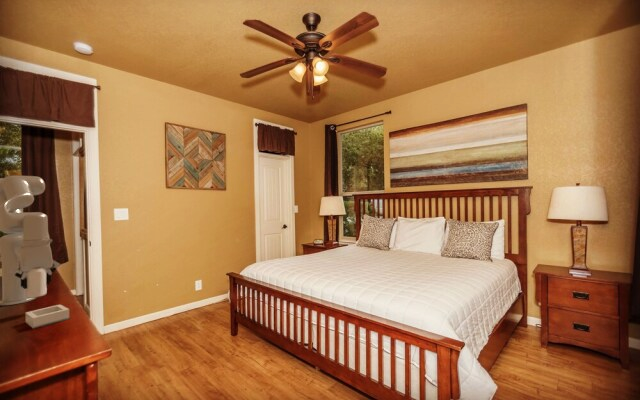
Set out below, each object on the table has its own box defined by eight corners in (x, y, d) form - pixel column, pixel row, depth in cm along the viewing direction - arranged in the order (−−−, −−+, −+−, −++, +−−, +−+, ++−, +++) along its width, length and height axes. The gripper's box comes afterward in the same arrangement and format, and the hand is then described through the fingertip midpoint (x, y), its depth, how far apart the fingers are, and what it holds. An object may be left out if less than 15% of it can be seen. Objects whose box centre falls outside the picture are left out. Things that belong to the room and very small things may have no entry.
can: (33, 298, 123) (33, 269, 122) (21, 297, 124) (20, 268, 124) (50, 293, 129) (50, 265, 129) (38, 292, 130) (38, 264, 130)
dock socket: (25, 322, 115) (25, 312, 115) (60, 313, 123) (60, 304, 123) (33, 328, 109) (33, 318, 109) (69, 318, 118) (69, 309, 118)
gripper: (59, 239, 135) (59, 279, 136) (4, 245, 121) (4, 289, 121) (65, 241, 131) (65, 282, 131) (8, 247, 117) (9, 293, 117)
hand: (36, 285), depth 126 cm, fingers closed on can, 6 cm apart
